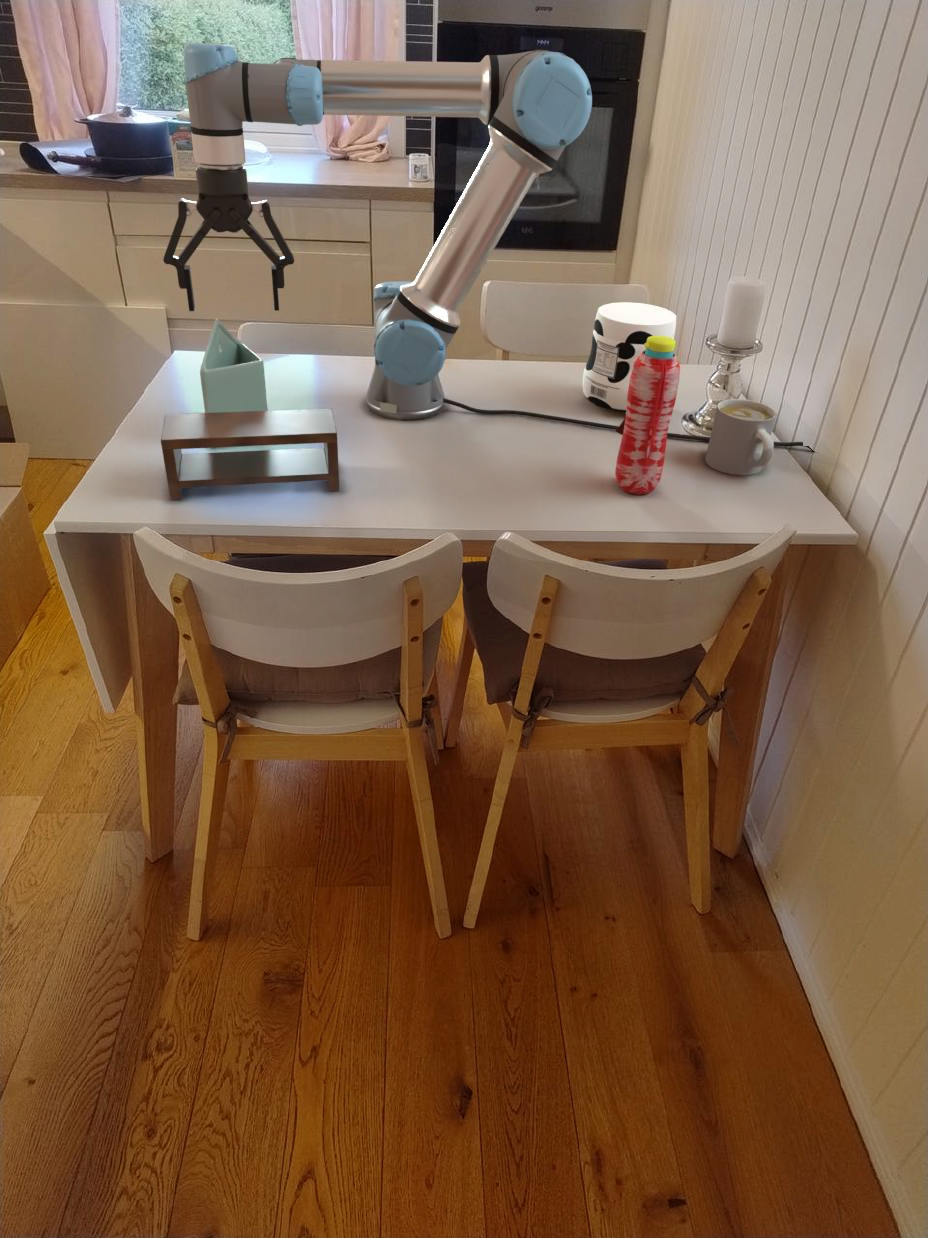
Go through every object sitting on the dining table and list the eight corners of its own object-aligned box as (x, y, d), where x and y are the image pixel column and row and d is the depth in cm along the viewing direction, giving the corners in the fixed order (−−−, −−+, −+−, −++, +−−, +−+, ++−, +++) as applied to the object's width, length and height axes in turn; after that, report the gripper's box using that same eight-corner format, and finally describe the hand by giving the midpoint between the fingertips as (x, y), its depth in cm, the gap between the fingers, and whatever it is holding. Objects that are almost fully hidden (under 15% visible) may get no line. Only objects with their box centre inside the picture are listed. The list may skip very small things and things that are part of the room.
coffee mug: (697, 451, 159) (708, 398, 153) (749, 451, 160) (762, 398, 154) (724, 484, 148) (737, 429, 142) (779, 483, 149) (795, 428, 143)
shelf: (334, 464, 148) (331, 408, 142) (339, 491, 140) (337, 432, 134) (174, 472, 143) (165, 414, 137) (170, 500, 135) (160, 439, 129)
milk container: (665, 393, 183) (681, 305, 172) (666, 424, 169) (684, 330, 158) (582, 384, 185) (593, 297, 174) (577, 414, 171) (588, 321, 160)
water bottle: (605, 467, 152) (627, 321, 137) (650, 469, 152) (677, 323, 137) (615, 499, 142) (639, 345, 127) (664, 501, 142) (694, 348, 128)
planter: (252, 453, 150) (240, 338, 138) (209, 448, 151) (193, 333, 139) (285, 417, 163) (277, 310, 152) (245, 413, 164) (233, 305, 153)
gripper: (302, 163, 137) (309, 301, 150) (136, 159, 133) (157, 302, 145) (305, 171, 132) (312, 314, 144) (131, 167, 127) (154, 315, 139)
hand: (234, 308), depth 144 cm, fingers open, 13 cm apart
